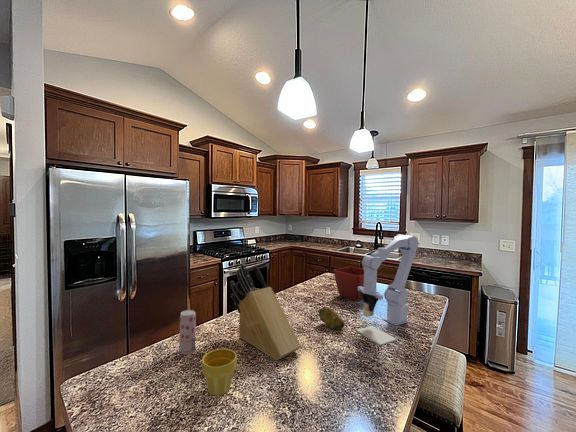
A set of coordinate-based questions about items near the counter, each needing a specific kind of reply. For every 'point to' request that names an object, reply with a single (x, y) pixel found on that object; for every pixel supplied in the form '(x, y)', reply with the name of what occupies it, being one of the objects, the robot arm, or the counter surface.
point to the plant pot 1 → (219, 370)
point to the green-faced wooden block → (367, 310)
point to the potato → (331, 318)
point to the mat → (376, 335)
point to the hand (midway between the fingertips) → (369, 309)
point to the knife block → (262, 317)
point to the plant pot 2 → (349, 282)
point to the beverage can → (187, 331)
